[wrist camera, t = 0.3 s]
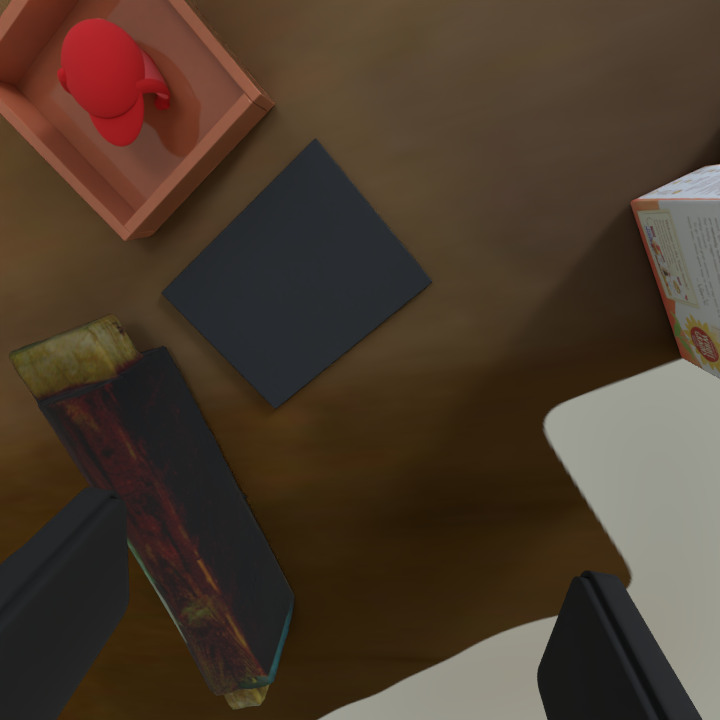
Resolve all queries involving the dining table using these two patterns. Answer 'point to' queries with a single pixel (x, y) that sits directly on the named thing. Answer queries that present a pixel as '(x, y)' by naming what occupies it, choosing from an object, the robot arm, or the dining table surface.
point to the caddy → (160, 127)
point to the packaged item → (168, 498)
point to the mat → (297, 278)
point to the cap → (110, 78)
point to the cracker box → (687, 259)
